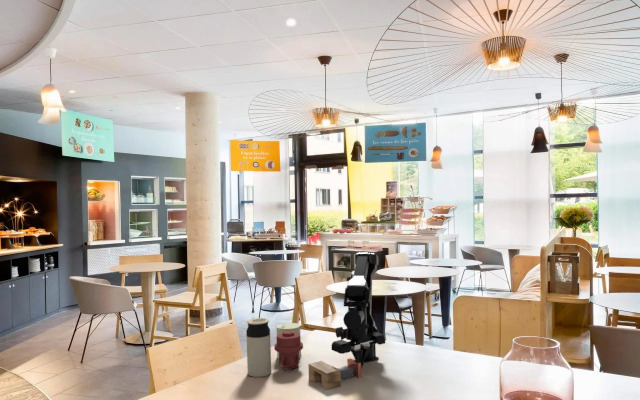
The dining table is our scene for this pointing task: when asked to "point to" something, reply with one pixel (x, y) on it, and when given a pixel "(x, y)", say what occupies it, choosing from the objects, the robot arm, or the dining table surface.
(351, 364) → the pin
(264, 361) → the travel mug
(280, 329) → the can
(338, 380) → the block
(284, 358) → the mechanical component
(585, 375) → the dining table surface
